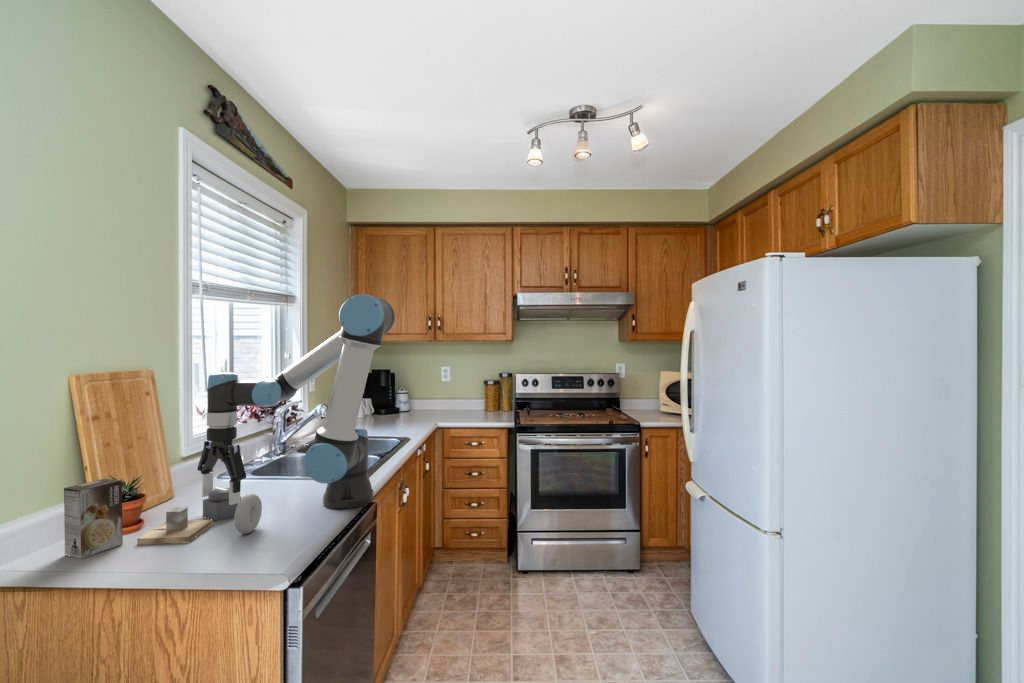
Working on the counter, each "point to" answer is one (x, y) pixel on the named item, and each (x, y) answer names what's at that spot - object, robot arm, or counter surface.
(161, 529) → the base
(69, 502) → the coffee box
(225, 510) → the knob
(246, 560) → the counter surface
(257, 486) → the counter surface
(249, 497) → the upright grey disc
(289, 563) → the counter surface
